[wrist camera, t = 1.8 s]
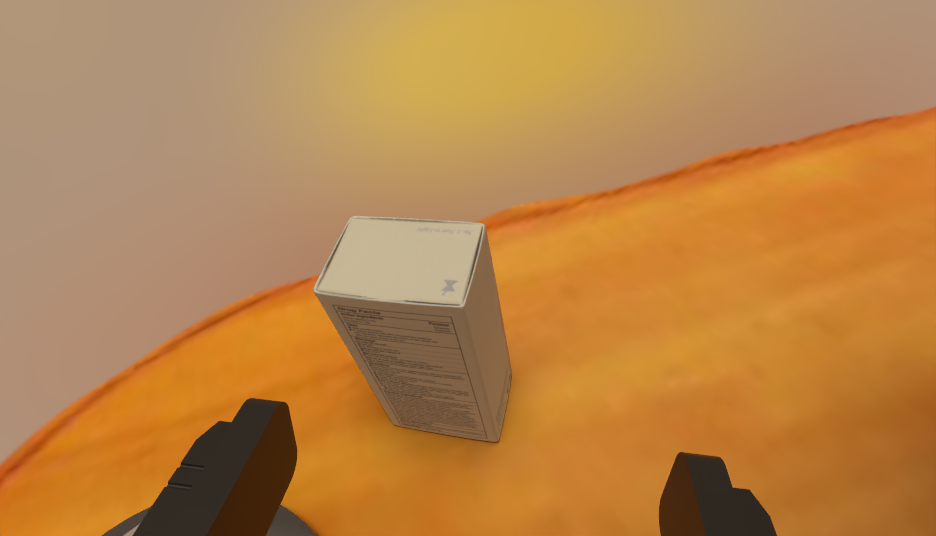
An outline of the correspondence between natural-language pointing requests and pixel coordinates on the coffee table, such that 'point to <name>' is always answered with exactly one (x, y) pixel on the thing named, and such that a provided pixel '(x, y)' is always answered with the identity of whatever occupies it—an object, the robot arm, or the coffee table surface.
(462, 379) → the skincare box
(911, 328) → the coffee table surface
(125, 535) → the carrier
